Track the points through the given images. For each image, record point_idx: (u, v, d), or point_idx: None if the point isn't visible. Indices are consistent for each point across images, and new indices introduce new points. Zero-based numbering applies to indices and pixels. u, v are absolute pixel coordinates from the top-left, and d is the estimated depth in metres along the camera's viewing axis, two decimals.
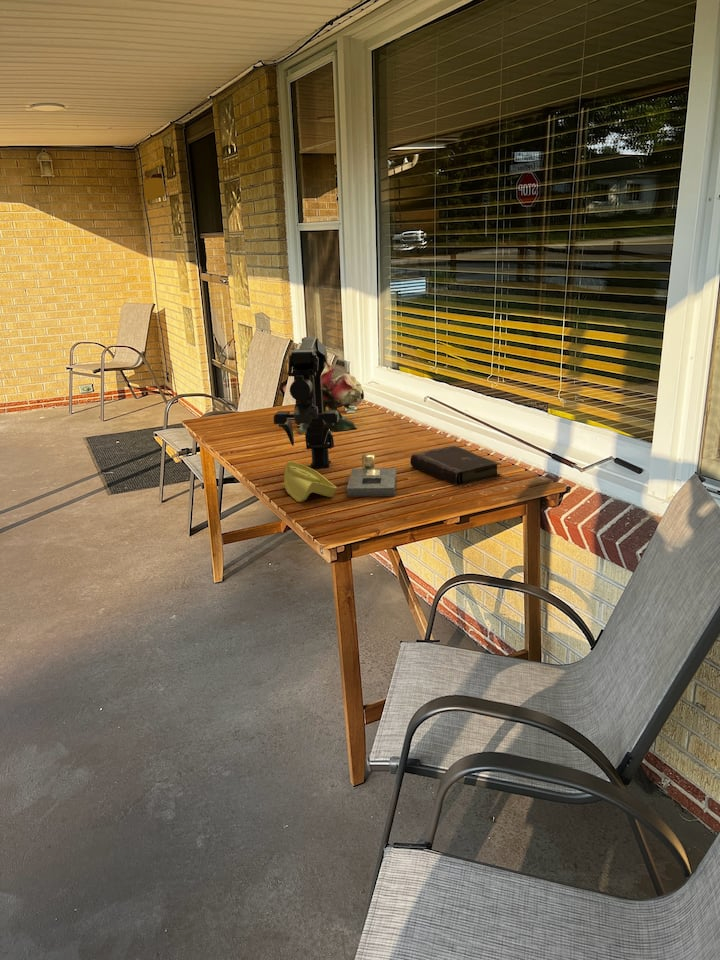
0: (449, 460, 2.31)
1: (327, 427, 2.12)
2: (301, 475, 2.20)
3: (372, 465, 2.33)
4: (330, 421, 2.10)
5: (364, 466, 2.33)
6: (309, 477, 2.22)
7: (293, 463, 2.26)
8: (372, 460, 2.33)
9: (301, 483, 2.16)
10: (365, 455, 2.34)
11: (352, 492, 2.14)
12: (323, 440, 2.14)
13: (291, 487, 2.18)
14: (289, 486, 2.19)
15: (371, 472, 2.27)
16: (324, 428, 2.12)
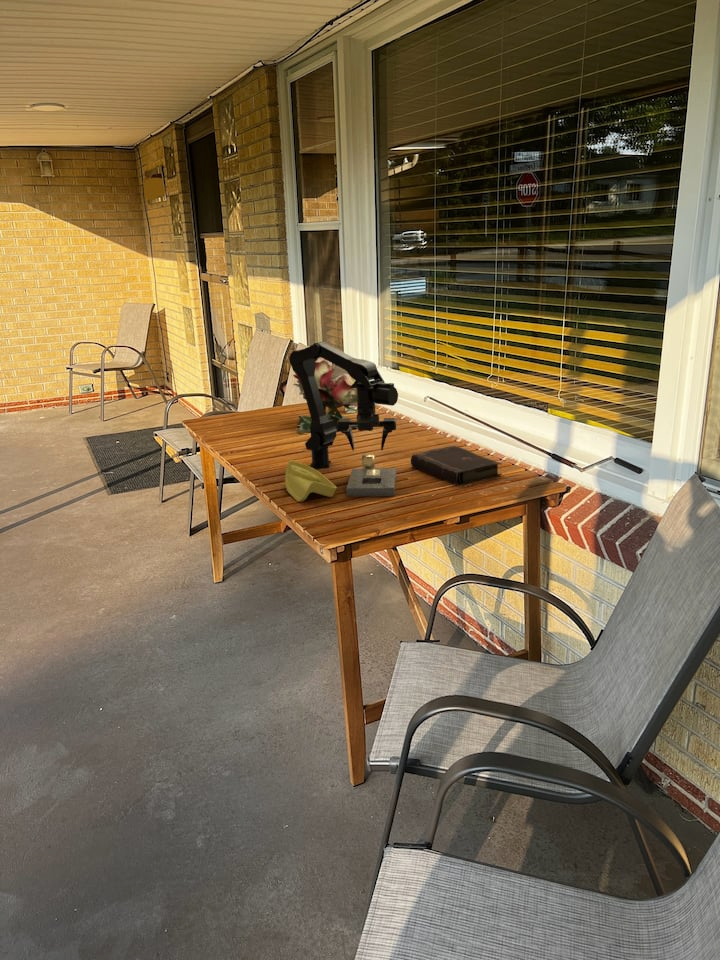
0: (450, 460, 2.31)
1: (386, 434, 2.29)
2: (302, 475, 2.21)
3: (372, 465, 2.33)
4: (389, 428, 2.27)
5: (364, 466, 2.33)
6: (310, 477, 2.22)
7: (294, 462, 2.27)
8: (372, 460, 2.33)
9: (301, 483, 2.16)
10: (365, 455, 2.34)
11: (352, 492, 2.14)
12: (382, 446, 2.32)
13: (292, 486, 2.18)
14: (290, 485, 2.20)
15: (371, 472, 2.27)
16: (383, 434, 2.30)
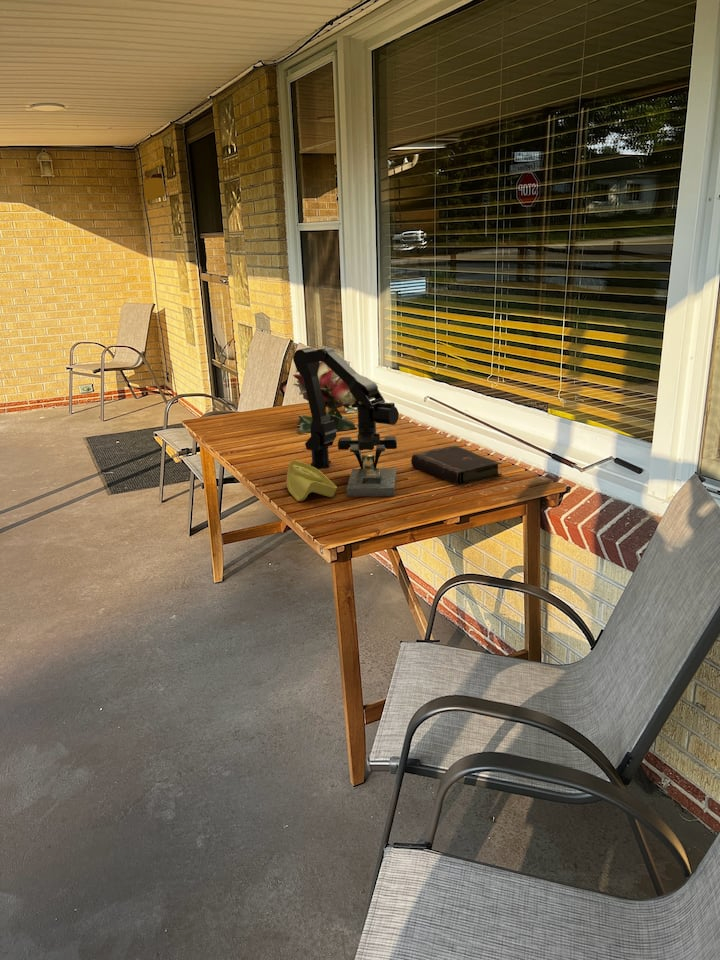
0: (450, 460, 2.31)
1: (379, 452, 2.31)
2: (303, 474, 2.21)
3: (372, 465, 2.33)
4: (390, 447, 2.29)
5: (364, 466, 2.33)
6: (311, 476, 2.22)
7: (297, 462, 2.27)
8: (372, 460, 2.33)
9: (302, 482, 2.16)
10: (365, 455, 2.34)
11: (352, 492, 2.14)
12: (375, 464, 2.34)
13: (293, 486, 2.19)
14: (291, 485, 2.20)
15: (371, 472, 2.27)
16: (376, 453, 2.32)
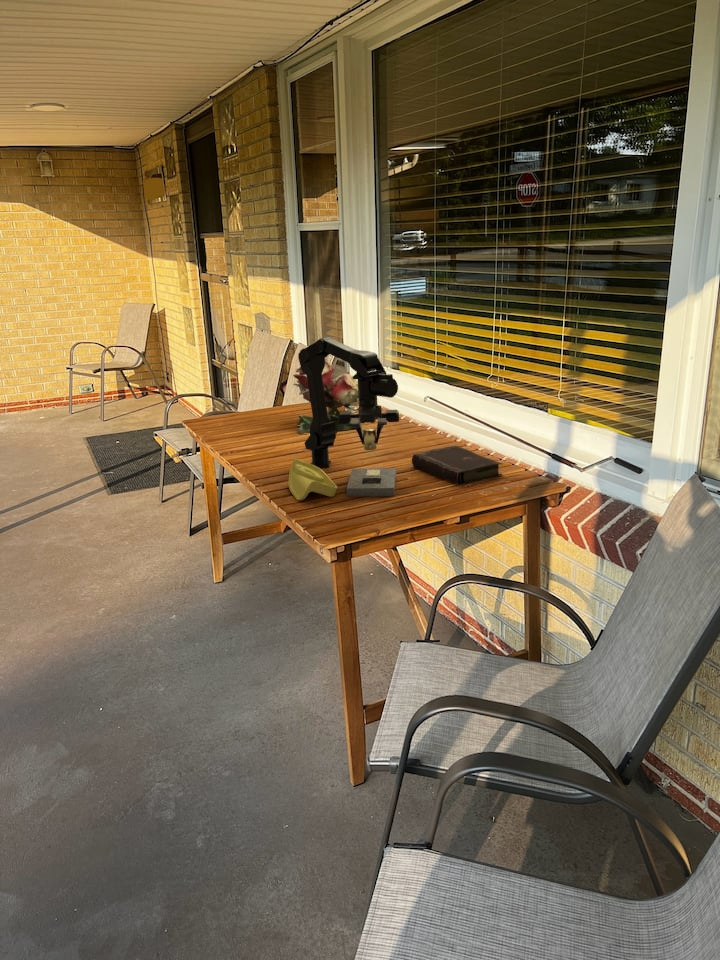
0: (450, 460, 2.31)
1: (381, 426, 2.23)
2: (305, 474, 2.22)
3: (373, 440, 2.25)
4: (392, 420, 2.21)
5: (365, 441, 2.25)
6: (313, 476, 2.22)
7: (299, 461, 2.28)
8: (374, 435, 2.24)
9: (303, 482, 2.17)
10: (366, 429, 2.25)
11: (352, 492, 2.14)
12: (377, 439, 2.25)
13: (294, 485, 2.20)
14: (292, 484, 2.21)
15: (371, 472, 2.27)
16: (378, 427, 2.23)
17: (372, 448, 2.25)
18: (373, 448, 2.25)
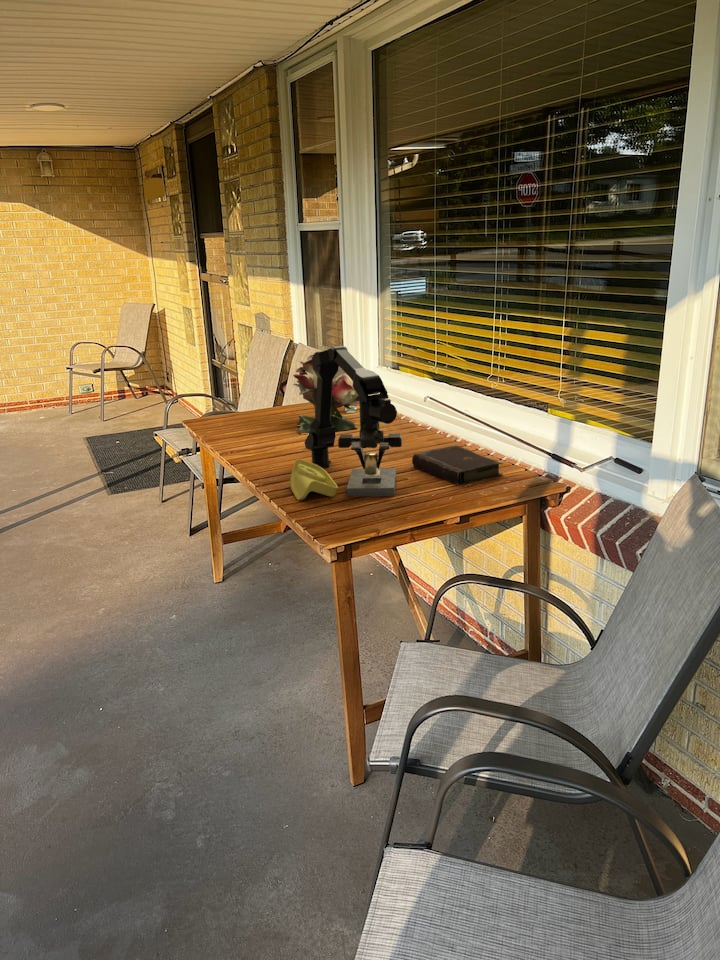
0: (451, 460, 2.31)
1: (383, 451, 2.14)
2: (307, 473, 2.22)
3: (375, 464, 2.16)
4: (395, 445, 2.12)
5: (366, 465, 2.17)
6: (315, 476, 2.23)
7: (302, 461, 2.28)
8: (375, 459, 2.16)
9: (304, 481, 2.17)
10: (367, 453, 2.17)
11: (352, 492, 2.14)
12: (378, 463, 2.17)
13: (296, 484, 2.20)
14: (294, 483, 2.21)
15: None
16: (380, 452, 2.15)
17: (373, 473, 2.17)
18: (374, 473, 2.17)
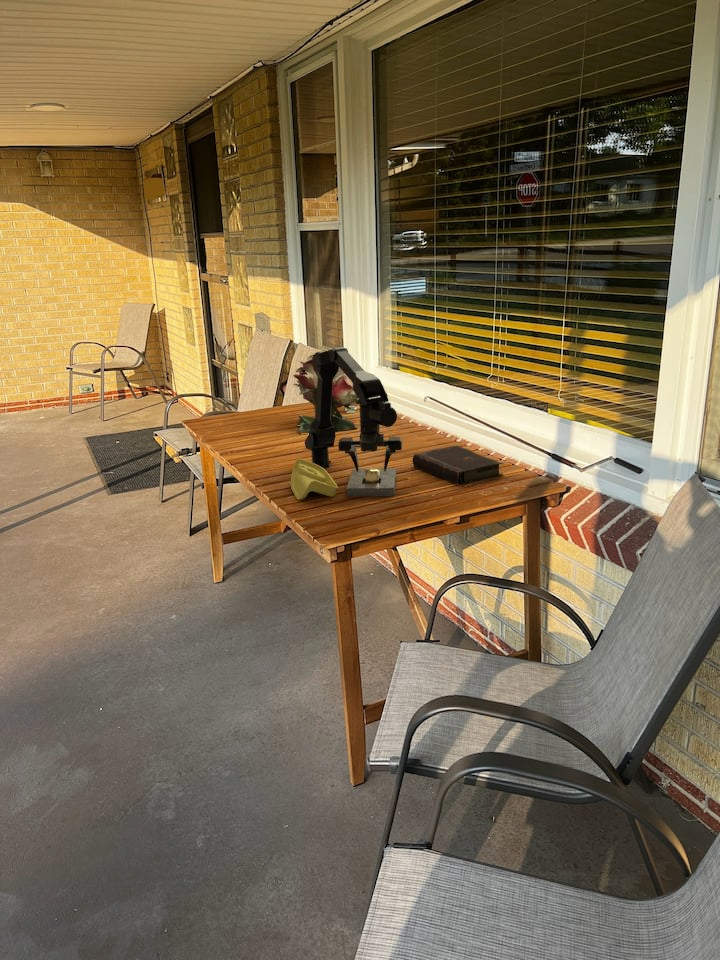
0: (451, 460, 2.31)
1: (389, 454, 2.14)
2: (307, 473, 2.22)
3: (376, 480, 2.18)
4: (395, 448, 2.13)
5: (367, 481, 2.18)
6: (315, 475, 2.23)
7: (302, 461, 2.28)
8: (376, 475, 2.18)
9: (304, 481, 2.17)
10: (368, 469, 2.19)
11: (352, 492, 2.14)
12: (385, 466, 2.17)
13: (296, 484, 2.20)
14: (294, 483, 2.22)
15: None
16: (386, 455, 2.15)
17: None
18: None
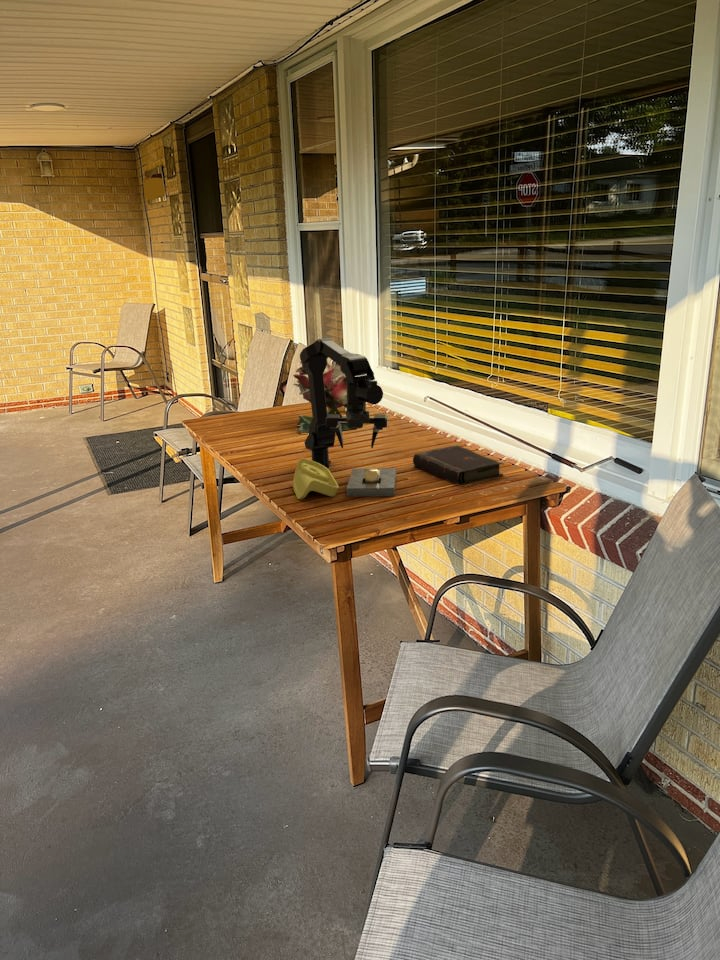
0: (451, 460, 2.31)
1: (377, 431, 2.20)
2: (309, 472, 2.23)
3: (376, 480, 2.18)
4: (380, 425, 2.18)
5: (367, 481, 2.18)
6: (317, 475, 2.23)
7: (306, 460, 2.29)
8: (376, 475, 2.18)
9: (305, 480, 2.18)
10: (368, 469, 2.19)
11: (352, 492, 2.14)
12: (372, 443, 2.22)
13: (298, 484, 2.21)
14: (296, 483, 2.22)
15: None
16: (374, 432, 2.20)
17: None
18: None
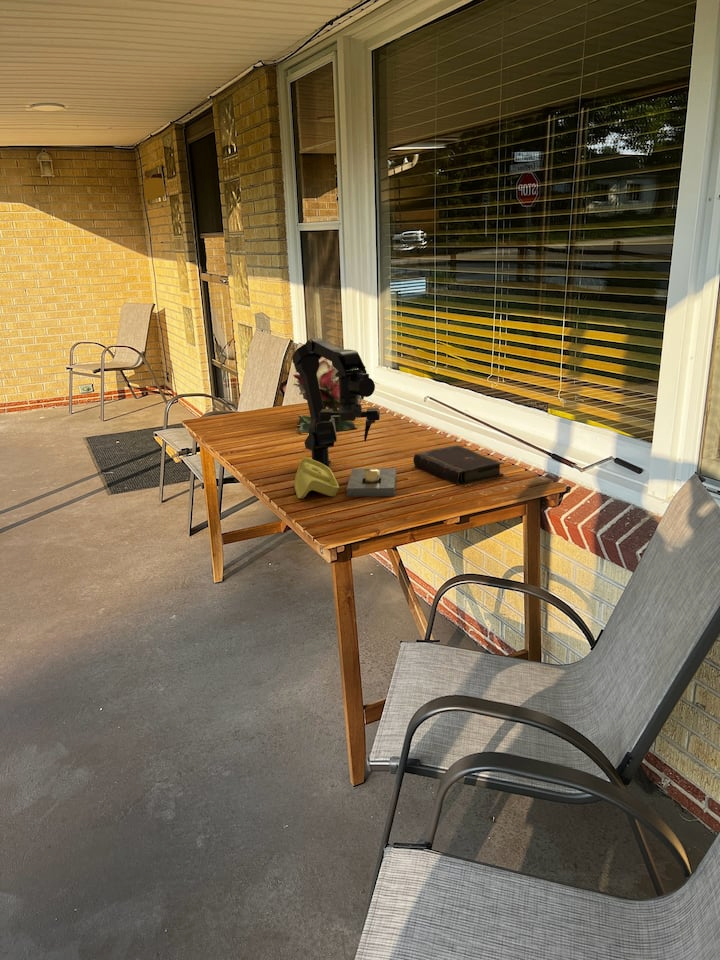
0: (452, 460, 2.31)
1: (369, 424, 2.23)
2: (311, 472, 2.23)
3: (376, 480, 2.18)
4: (372, 418, 2.22)
5: (367, 481, 2.18)
6: (319, 475, 2.23)
7: (308, 460, 2.29)
8: (376, 475, 2.17)
9: (306, 480, 2.18)
10: (368, 469, 2.19)
11: (352, 492, 2.14)
12: (365, 436, 2.26)
13: (299, 483, 2.21)
14: (298, 482, 2.23)
15: None
16: (366, 425, 2.24)
17: None
18: None
